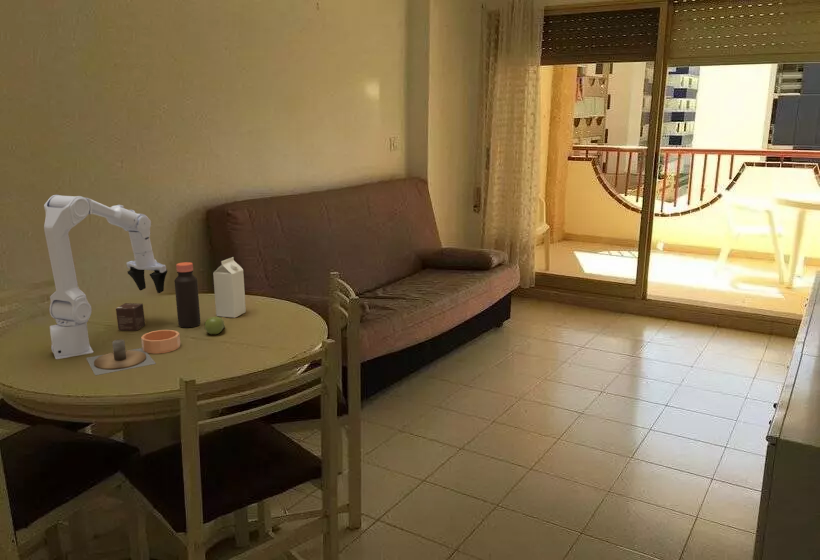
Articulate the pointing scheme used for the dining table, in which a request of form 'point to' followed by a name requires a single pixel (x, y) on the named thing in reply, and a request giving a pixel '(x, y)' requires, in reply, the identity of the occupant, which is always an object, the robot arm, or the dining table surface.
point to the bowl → (160, 341)
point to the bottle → (187, 296)
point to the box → (130, 316)
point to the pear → (214, 325)
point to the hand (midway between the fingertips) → (151, 290)
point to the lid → (119, 357)
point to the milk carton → (229, 289)
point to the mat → (103, 371)
